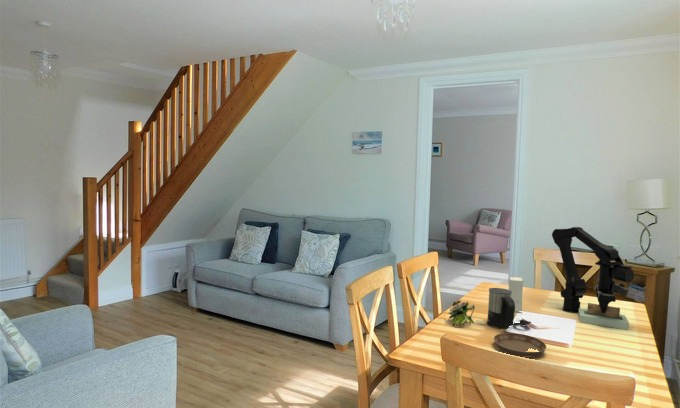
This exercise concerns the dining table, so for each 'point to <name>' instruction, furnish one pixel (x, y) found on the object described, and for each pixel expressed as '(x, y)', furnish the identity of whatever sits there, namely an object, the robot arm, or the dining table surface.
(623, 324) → the sage cradle
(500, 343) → the plant saucer
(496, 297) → the milk frother
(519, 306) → the skincare box
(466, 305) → the green leafy plant
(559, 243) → the robot arm
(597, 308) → the walnut peg
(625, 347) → the dining table surface
